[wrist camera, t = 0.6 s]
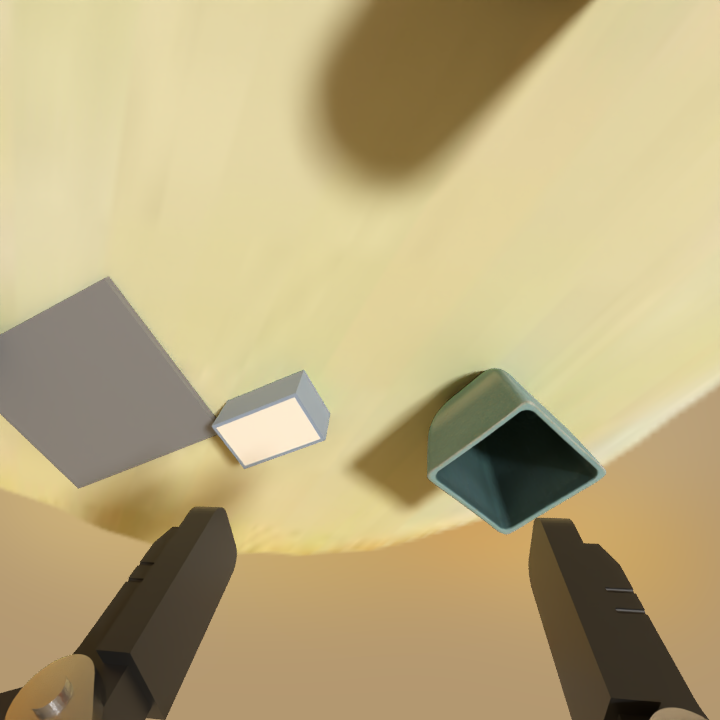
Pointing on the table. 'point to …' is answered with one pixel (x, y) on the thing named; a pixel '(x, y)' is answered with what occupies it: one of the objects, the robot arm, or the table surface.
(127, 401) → the rubber mat
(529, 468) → the flower pot
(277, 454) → the card box
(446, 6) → the table surface
